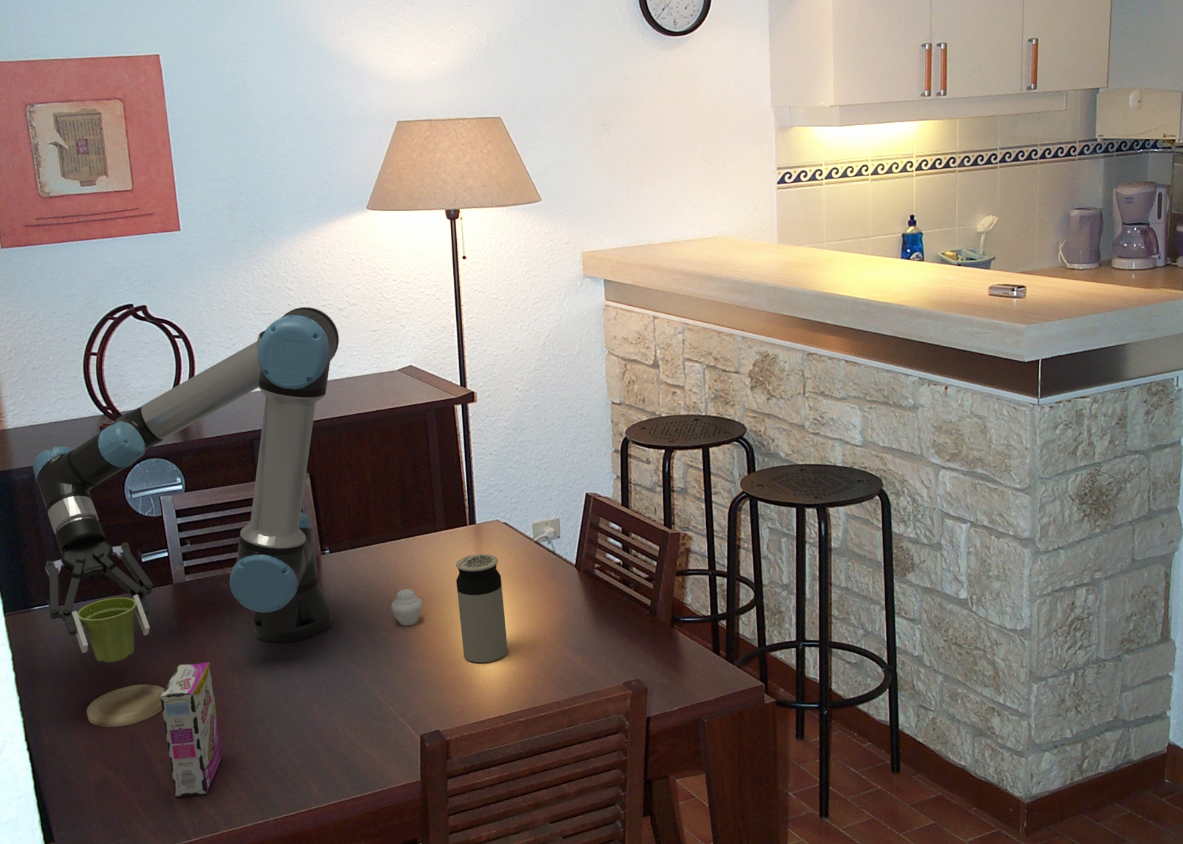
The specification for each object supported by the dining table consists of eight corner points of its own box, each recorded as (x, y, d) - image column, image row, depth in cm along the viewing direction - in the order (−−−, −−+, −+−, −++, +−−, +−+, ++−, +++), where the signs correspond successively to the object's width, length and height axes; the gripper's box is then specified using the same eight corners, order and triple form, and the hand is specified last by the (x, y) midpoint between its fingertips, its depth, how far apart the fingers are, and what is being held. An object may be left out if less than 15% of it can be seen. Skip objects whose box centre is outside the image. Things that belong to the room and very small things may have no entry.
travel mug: (515, 647, 219) (507, 555, 214) (494, 666, 212) (485, 571, 207) (478, 642, 222) (469, 551, 218) (455, 660, 215) (446, 567, 211)
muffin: (386, 627, 232) (382, 593, 230) (403, 614, 237) (399, 582, 236) (414, 630, 229) (410, 596, 228) (430, 617, 235) (426, 584, 233)
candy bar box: (209, 794, 176) (192, 693, 172) (175, 798, 176) (157, 697, 172) (225, 756, 187) (210, 660, 183) (193, 759, 187) (177, 663, 183)
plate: (181, 691, 211) (180, 684, 210) (143, 727, 198) (142, 720, 198) (114, 690, 213) (112, 683, 212) (72, 726, 200) (71, 719, 200)
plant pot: (88, 672, 197) (79, 624, 195) (82, 652, 205) (74, 605, 203) (147, 658, 201) (139, 610, 199) (140, 639, 209) (132, 592, 207)
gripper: (139, 524, 217) (179, 631, 209) (9, 554, 205) (45, 669, 196) (143, 502, 212) (184, 611, 203) (9, 532, 199) (47, 650, 191)
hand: (116, 640), depth 200 cm, fingers closed on plant pot, 9 cm apart
